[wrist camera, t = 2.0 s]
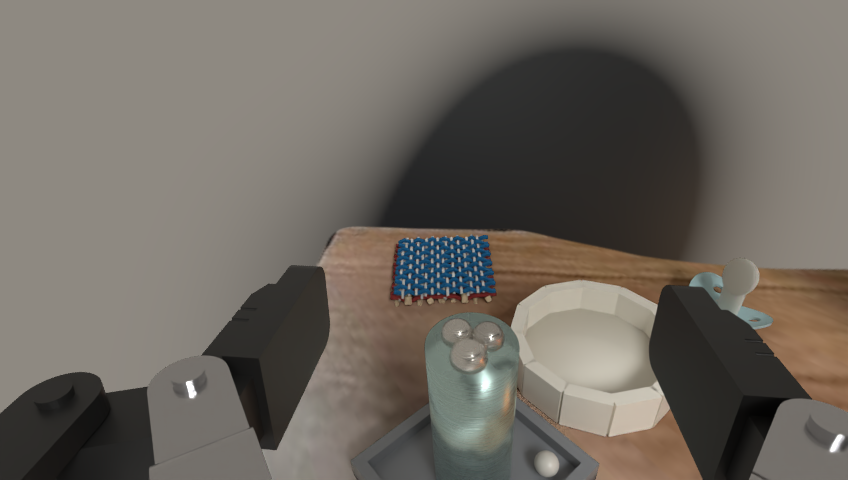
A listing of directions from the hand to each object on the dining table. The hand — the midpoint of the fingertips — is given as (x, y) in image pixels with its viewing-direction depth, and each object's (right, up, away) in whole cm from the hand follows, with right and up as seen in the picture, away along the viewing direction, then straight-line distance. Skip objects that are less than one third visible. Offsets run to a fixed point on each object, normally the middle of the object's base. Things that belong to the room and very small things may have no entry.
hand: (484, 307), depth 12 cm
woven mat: (0, -2, +40) cm, 40 cm away
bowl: (+12, -9, +29) cm, 32 cm away
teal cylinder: (+2, -14, +21) cm, 25 cm away
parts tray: (+2, -14, +21) cm, 26 cm away
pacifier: (+25, -6, +32) cm, 41 cm away
